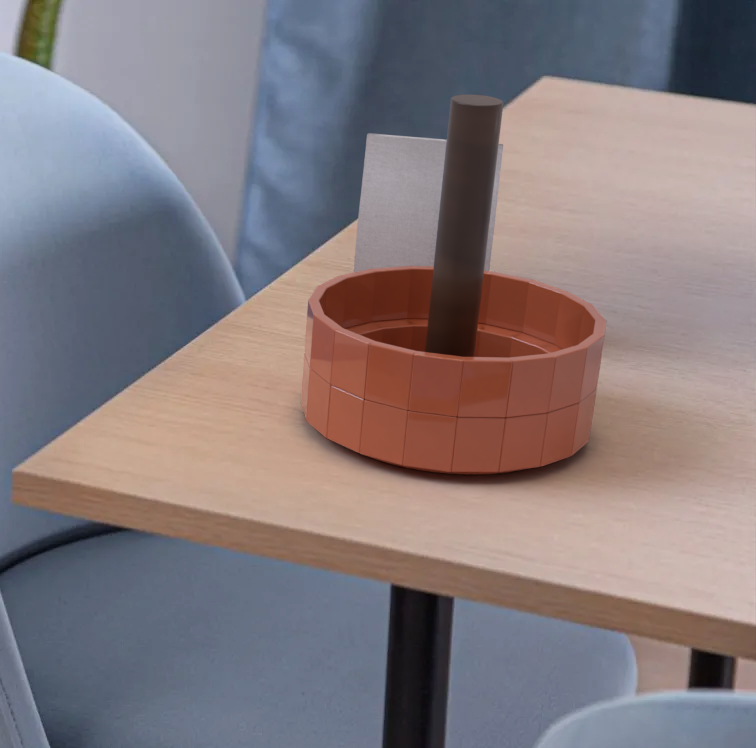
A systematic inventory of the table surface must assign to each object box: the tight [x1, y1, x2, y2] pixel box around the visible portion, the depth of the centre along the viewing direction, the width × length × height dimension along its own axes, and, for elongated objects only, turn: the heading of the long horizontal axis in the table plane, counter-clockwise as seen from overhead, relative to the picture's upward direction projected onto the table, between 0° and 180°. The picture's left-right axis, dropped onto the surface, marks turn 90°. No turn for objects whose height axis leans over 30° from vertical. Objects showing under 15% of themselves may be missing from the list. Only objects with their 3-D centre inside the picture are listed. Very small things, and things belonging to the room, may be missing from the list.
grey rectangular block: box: [353, 132, 504, 272], centre depth 90 cm, size 4×7×10 cm, turn 81°
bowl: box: [300, 266, 607, 476], centre depth 79 cm, size 13×13×6 cm
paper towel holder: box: [425, 94, 504, 357], centre depth 77 cm, size 6×6×14 cm
